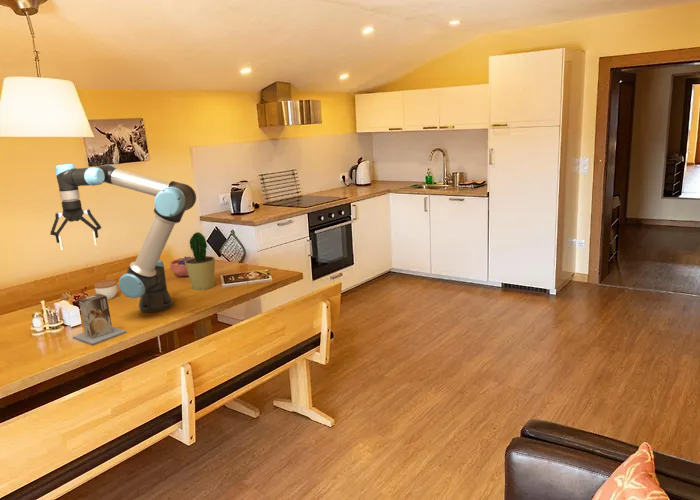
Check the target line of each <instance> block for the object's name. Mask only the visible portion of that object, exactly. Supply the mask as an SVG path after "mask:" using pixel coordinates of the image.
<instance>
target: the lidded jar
mask: <svg viewBox="0 0 700 500" xmlns="http://www.w3.org/2000/svg"><path fill="white" fill-rule="evenodd" d="M93 288H94V291H95V295H97V294H103V295H105V296H107V300H111V299H114V298H115V297H116V294H117V292H118V282H117V280H113V279H111V280H106V279H103V281H98V282H96V283H95V284H93Z"/></svg>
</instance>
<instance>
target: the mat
mask: <svg viewBox="0 0 700 500" xmlns="http://www.w3.org/2000/svg"><path fill="white" fill-rule="evenodd" d="M112 328H113V332H111V333H108V334H105V335H102V336H99V337H96V338H93V339H91V338H89V337H87V336H86V335H85V331H84V332H82V333H80V334H77V335H74V336H72V339H73V340H76V341H79V342H82V343H83V344H88V345H90V346H94V345H95V346H96V345H98V344H100V343H103V342H106V341H108V340H111V339H114V338H116V337H119V336H121V335H124V334H127V330H124V329H122V328H118V327H116V326H112Z"/></svg>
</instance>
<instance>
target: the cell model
mask: <svg viewBox="0 0 700 500" xmlns="http://www.w3.org/2000/svg"><path fill="white" fill-rule="evenodd" d="M190 258H194V256H184V258H183V257H179V258H177V259H174V260H172V261H170V262H169V267H170V270H171V271H173V273H175V274H176V275H178V277H189V275H188V272H187V268H186V265H185V261H186V260H188V259H190Z"/></svg>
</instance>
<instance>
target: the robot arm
mask: <svg viewBox="0 0 700 500" xmlns="http://www.w3.org/2000/svg"><path fill="white" fill-rule="evenodd" d="M55 177H56V180H57V181H56V182H57V184H58V192H59V196H60V201H61V208H62V212H58V211H57V212H56V213H55V219H54V222H53V225H52V227H51V230H50V233H49V234H50V235H51V236H54V237H55V240H56V244H59V246H60V247H59V248H60V251H64V244H63V240H62V239H63V238H62V235H61V234H60V233H61V232H62V230H63V229H64V227H65V226H66V225H67V223H68V222H70V223H72V222H79V221H81V222H83V223H84V224H85V225H87V226H88V227H90V228H91V229H92V235H93V236H92V237H93V242H94V243H93V244H94V246H95V247H97V246H98V243H97V239H98V238H99V232H98V231H99V230H101V229H102V226H101V224H100V223H99V222H98V221H97V219H96V218H95V216H94V215H93V214H92V213H91V209H90V208H88V209H85V210H84V209H83V206H82V201H81V200H80V199H81V196H80V195H81V194H80V191H79V190H80V189H79V187H80V186H81V187H83V186H92V187H93V186H100V185H103V183H106V184H110V185H114V186H117V187H121V188H124V189H129V190H131V191H132V190H133V191H135V192H139V193H143V194H145V195H150V196H153V197H154V209H153V213H154V215H155V216H154V218H153V221H152V222H151V225H150V227H149V230H148V232H147V234H146V237H145V238H144V240H143V243H142V245H141V247H140V250H139V252H138V255H137V257H136V258H135V260H134V261H131V262H130V264H129V266H128V268H127V270H126V271H125V272H126V273H123V275H121V276H120V278H119V280H118V288H119V290H120V292H121V293H122V294H123V295H124V296H126V298H130V299H138V298H140V299H139V303H138V308H139V311H140V312H142V313H158V312H163V311H165V310H169V309H170V308H172V307H173V305H174V303H173V298H172V296H171V295H170V292H169V291H168V288H167V279H166V273H165V272H166V271H165V266H164V265H165V264H164V261H163V260H161V259H160V258H161V256H162V253H163V251H164V248H165V246H166V245H167V242H168V240H169V238H170V235H171V233H172V230H173V229H174V227H175V224H179V223H180V222H181V220H182V218H183V215H184V214H185V212H186V211H188V210H190V209H192V208H193V207H194V206H195V204H196V201H197V193H196V191H195V190H194V189H193V187H192V186H190V185H189V184H186V183H182V182H178V181H173V180H171V181H169V182H168V181H165V180H162V179H158V178H154V177H151V176H147V175H143V174H139V173H136V172H135V173H134V172H131V171H127V170H124V169H122V168H121V169H120V168H117V167H116V166H115V165H113V164H102V165H97V166H89V167H83V168H82V167H81V168H79V167H78V168H76V167H75V165H74V163H66V164H58V165H56V166H55ZM84 214H85V215H88V217H89V218H90V220H91V221H92V222H93V223H94V225H93V224H92V223H91V222H90V221H89V220H88V219H86V218H85V217H84V216H83V215H84ZM62 216H63V217H64V218H65V219H64V220H63V221H62V223H61V225H60V226H59V227H58V229H57V231H56V228H57V225H58V222H59V219H61V218H62Z"/></svg>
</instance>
